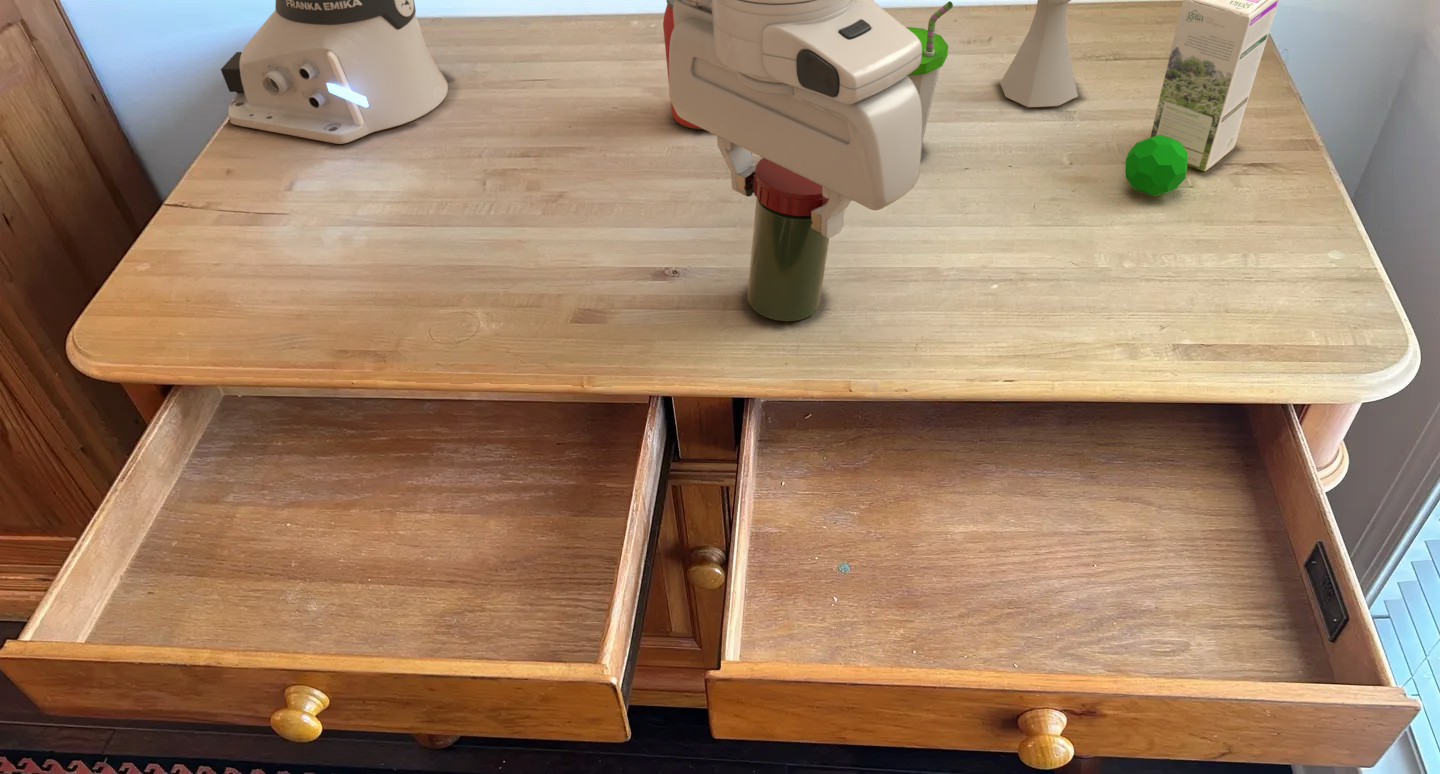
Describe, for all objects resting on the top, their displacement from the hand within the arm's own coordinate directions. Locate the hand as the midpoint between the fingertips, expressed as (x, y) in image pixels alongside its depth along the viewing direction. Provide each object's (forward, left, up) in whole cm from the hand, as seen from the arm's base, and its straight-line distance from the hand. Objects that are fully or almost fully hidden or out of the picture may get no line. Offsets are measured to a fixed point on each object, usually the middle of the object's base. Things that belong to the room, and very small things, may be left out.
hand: (786, 210), depth 75 cm
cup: (+6, +24, -9) cm, 27 cm away
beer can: (-13, +29, -9) cm, 33 cm away
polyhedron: (+28, +20, -9) cm, 36 cm away
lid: (+1, +1, +2) cm, 2 cm away
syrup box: (+32, +27, -9) cm, 43 cm away
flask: (+19, +37, -9) cm, 43 cm away
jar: (0, +1, -9) cm, 9 cm away
